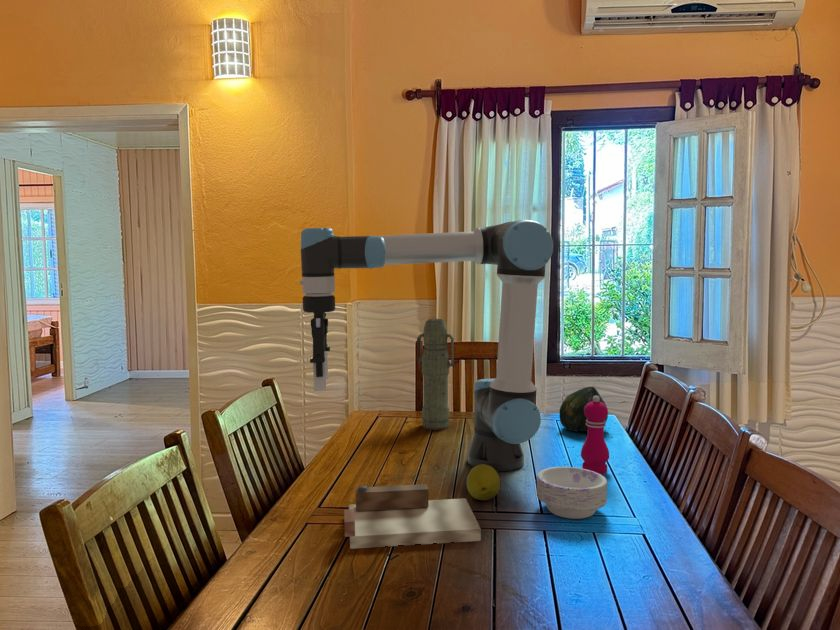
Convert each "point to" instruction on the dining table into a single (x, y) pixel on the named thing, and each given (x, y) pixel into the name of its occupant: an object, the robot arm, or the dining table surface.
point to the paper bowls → (571, 491)
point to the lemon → (483, 482)
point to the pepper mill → (595, 437)
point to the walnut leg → (391, 497)
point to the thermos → (435, 373)
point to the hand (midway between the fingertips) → (321, 384)
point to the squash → (577, 409)
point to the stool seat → (412, 525)
